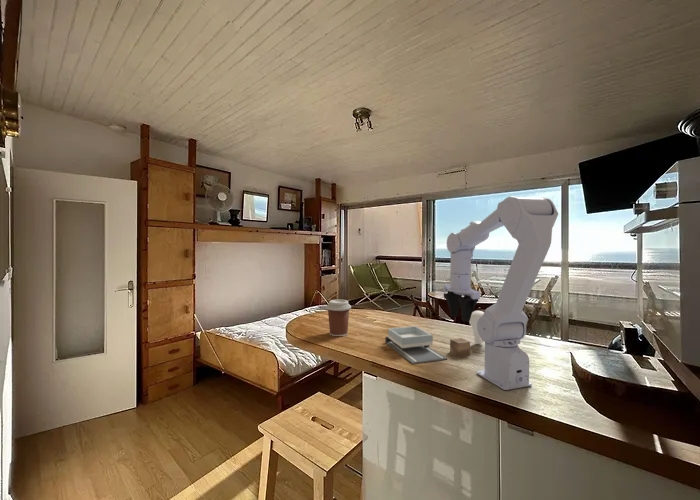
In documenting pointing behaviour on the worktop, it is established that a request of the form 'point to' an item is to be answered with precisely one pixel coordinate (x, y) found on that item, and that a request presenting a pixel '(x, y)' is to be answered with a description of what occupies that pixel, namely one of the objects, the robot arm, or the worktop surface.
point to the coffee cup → (338, 317)
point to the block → (460, 347)
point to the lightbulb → (473, 323)
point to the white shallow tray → (410, 337)
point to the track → (416, 353)
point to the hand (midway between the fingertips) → (460, 318)
